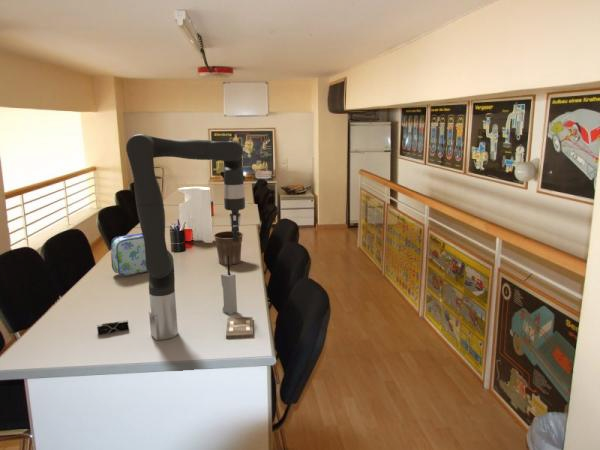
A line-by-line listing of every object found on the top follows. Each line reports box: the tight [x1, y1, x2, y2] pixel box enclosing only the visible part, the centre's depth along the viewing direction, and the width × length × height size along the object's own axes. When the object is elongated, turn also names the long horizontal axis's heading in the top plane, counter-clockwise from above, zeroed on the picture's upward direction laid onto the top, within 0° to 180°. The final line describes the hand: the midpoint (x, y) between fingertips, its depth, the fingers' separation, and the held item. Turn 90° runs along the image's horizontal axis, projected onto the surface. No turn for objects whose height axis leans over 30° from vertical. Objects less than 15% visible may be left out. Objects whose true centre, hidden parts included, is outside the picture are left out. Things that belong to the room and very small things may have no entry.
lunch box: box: [110, 232, 148, 277], centre depth 261 cm, size 26×11×21 cm, turn 131°
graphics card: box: [96, 319, 130, 336], centre depth 190 cm, size 12×3×5 cm, turn 114°
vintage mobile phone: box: [220, 256, 238, 315], centre depth 205 cm, size 4×5×25 cm
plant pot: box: [213, 230, 244, 266], centre depth 276 cm, size 16×16×16 cm
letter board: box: [225, 316, 254, 339], centre depth 192 cm, size 16×10×1 cm, turn 6°
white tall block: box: [177, 186, 214, 244], centre depth 322 cm, size 35×11×21 cm
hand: (236, 239), depth 184 cm, fingers open, 8 cm apart
